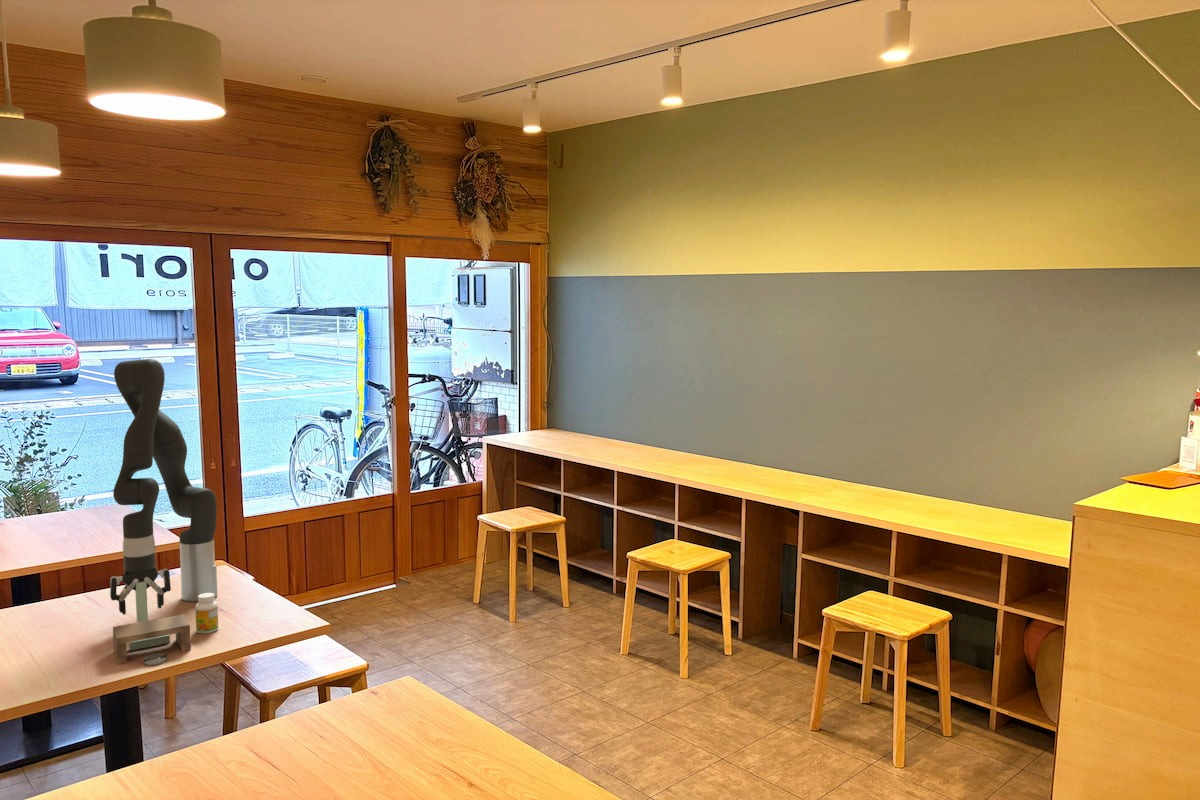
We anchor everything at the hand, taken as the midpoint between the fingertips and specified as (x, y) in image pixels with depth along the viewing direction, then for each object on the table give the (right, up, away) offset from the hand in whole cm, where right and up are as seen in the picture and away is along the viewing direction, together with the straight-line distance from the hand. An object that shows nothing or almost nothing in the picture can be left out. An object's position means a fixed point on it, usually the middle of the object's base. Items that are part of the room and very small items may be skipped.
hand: (141, 610), depth 224 cm
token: (+15, -7, -22) cm, 27 cm away
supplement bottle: (+18, -5, -1) cm, 19 cm away
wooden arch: (+11, -6, -15) cm, 20 cm away
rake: (+5, -5, -6) cm, 9 cm away
